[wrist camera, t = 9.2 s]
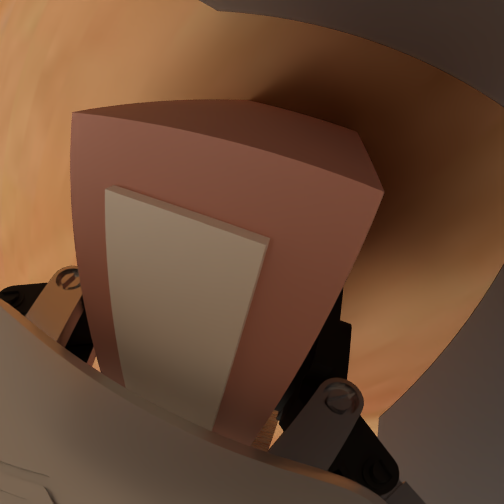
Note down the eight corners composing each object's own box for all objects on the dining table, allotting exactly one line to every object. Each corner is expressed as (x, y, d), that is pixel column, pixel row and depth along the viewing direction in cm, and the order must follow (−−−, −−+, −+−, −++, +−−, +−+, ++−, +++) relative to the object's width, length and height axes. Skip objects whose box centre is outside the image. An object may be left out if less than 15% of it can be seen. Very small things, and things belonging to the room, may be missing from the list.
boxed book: (249, 100, 11) (62, 113, 3) (357, 131, 10) (386, 197, 3) (206, 314, 17) (121, 440, 10) (278, 342, 17) (220, 487, 9)
